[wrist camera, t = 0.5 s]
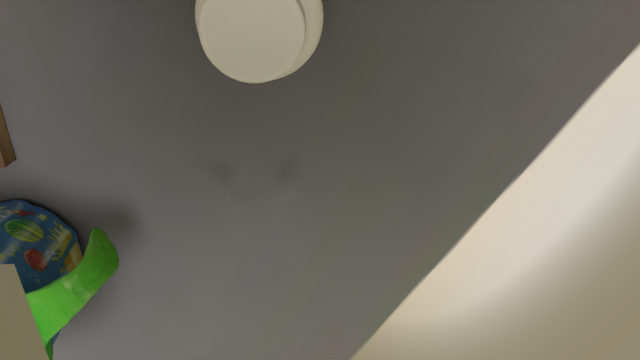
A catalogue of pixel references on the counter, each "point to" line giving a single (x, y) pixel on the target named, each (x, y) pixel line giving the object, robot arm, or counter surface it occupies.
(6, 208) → the snack cup
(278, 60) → the supplement bottle
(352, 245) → the counter surface
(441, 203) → the counter surface
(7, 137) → the board
